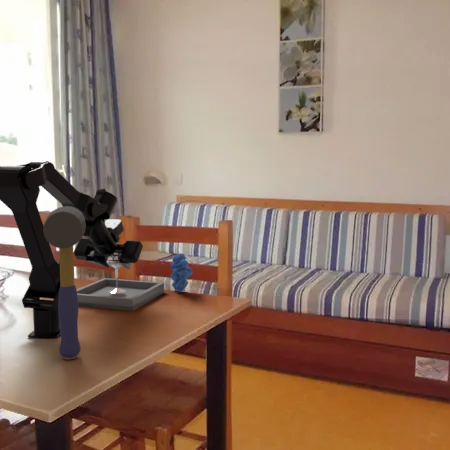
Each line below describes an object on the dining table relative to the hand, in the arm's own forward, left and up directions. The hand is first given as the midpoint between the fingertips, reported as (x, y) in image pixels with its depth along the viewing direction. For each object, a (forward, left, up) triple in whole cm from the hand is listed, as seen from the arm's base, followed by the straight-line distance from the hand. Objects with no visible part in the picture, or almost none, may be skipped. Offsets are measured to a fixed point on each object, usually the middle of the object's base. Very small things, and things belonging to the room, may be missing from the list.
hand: (119, 267), depth 145 cm
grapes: (+7, -17, -9) cm, 21 cm away
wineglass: (-1, 0, -7) cm, 7 cm away
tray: (-1, 0, -9) cm, 9 cm away
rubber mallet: (-46, -1, -9) cm, 47 cm away
